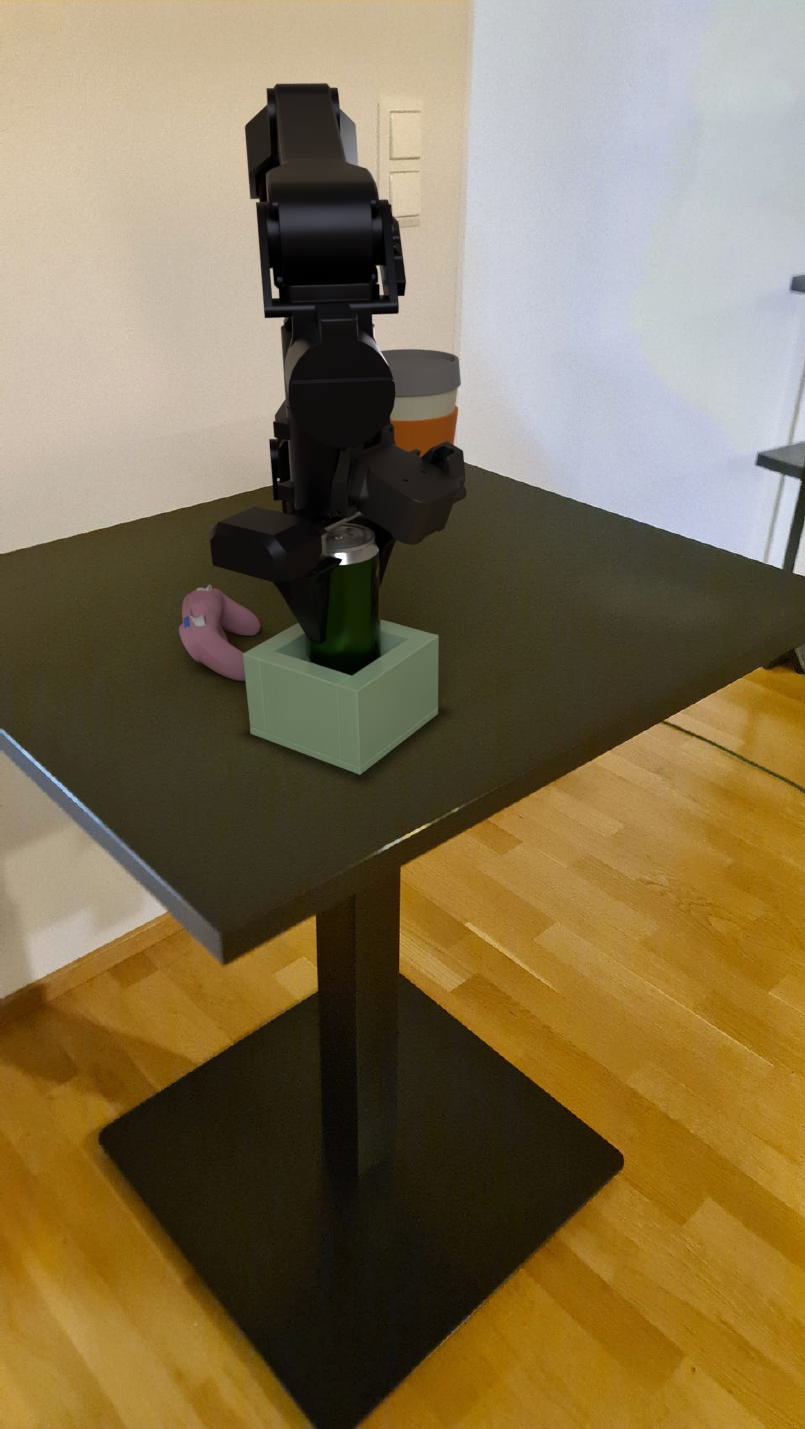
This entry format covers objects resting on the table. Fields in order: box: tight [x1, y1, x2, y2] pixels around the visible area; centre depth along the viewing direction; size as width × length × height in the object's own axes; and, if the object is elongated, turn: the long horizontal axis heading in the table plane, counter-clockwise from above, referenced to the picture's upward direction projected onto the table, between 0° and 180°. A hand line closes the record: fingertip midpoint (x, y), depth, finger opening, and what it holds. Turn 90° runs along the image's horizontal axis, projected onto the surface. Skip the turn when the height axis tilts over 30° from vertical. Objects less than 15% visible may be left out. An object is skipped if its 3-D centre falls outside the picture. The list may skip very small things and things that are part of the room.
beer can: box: [305, 523, 381, 676], centre depth 72 cm, size 5×5×12 cm
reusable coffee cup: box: [380, 348, 462, 457], centre depth 122 cm, size 12×13×15 cm
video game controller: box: [178, 583, 261, 682], centre depth 84 cm, size 10×5×7 cm, turn 5°
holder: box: [243, 618, 440, 776], centre depth 74 cm, size 10×10×7 cm
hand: (341, 627), depth 72 cm, fingers closed on beer can, 5 cm apart
